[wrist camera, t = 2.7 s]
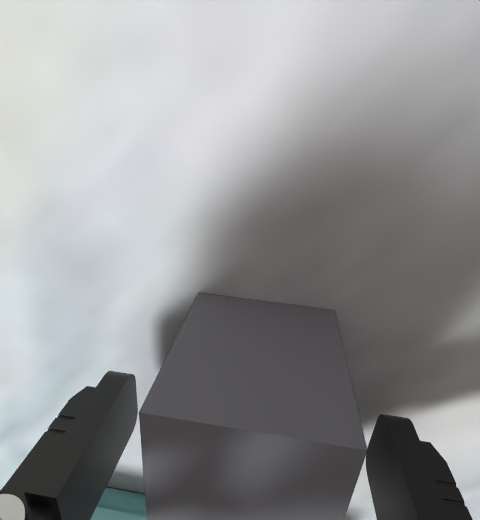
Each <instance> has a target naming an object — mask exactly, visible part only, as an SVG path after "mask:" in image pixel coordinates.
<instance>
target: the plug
mask: <svg viewBox="0 0 480 520" xmlns="http://www.w3.org/2000/svg"><path fill="white" fill-rule="evenodd" d="M139 418H140V433H141V447H142V461H143V476H144V490H145V504H146V519H147V520H344V518H345V515H346V512H347V509H348V506H349V503H350V500H351V497H352V494H353V491H354V488H355V485H356V483H357V480H358V477H359V474H360V471H361V468H362V465H363V462H364V459H365V456H366V453H367V446H366V442H365V438H364V434H363V429H362V425H361V421H360V417H359V412H358V408H357V404H356V400H355V395H354V391H353V387H352V383H351V378H350V374H349V370H348V366H347V361H346V357H345V353H344V348H343V344H342V340H341V336H340V331H339V327H338V323H337V319H336V314H335V310H327V309H320V308H312V307H304V306H297V305H289V304H282V303H274V302H266V301H259V300H251V299H244V298H236V297H228V296H221V295H213V294H206V293H198V295H197V297H196V299H195V301H194V303H193V305H192V307H191V309H190V311H189V313H188V315H187V317H186V319H185V321H184V323H183V325H182V327H181V329H180V331H179V333H178V335H177V337H176V339H175V341H174V343H173V345H172V347H171V349H170V351H169V353H168V355H167V357H166V359H165V361H164V363H163V365H162V367H161V369H160V371H159V373H158V375H157V377H156V379H155V381H154V383H153V385H152V387H151V389H150V391H149V393H148V395H147V397H146V399H145V401H144V403H143V405H142V407H141V409H140V411H139Z"/></svg>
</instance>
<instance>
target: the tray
mask: <svg viewBox="0 0 480 520" xmlns="http://www.w3.org/2000/svg"><path fill="white" fill-rule="evenodd" d="M90 520H147V519H146V504H145V494H139V493H134V492H129V491H123V490H118V489H113V488H108V487H106V488H105V490H104V492H103V494H102V496H101V498H100V501H99V503H98V505H97V507H96V509H95V511H94V513H93V515H92V517H91V519H90Z"/></svg>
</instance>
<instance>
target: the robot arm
mask: <svg viewBox="0 0 480 520" xmlns="http://www.w3.org/2000/svg"><path fill="white" fill-rule="evenodd" d="M137 413H138V408H137V394H136V380H135V376H134V375H133V374H127V373H120V372H114V371H108V372H107V373H106V374H105V375H104V377H103V378H102V380H101V381H100V383H99V384H98V385H97V387H96V388H95V387H89V386H87V387H85V388H84V389H83V390H81V391H80V392H79V393H77V394H76V395H75V396H73V397H72V398H71V399H70V400H69V401H68V402H67V404H66V405H65V406H64V408H63V409H62V410H61V412H60V413H59V414H58V417H57V418H55V420H54V421H53V422H52V424H51V425H50V426H49V428H48V431H47V432H45V433H44V434H43V436H42V437H41V438H40V440H39V441H38V442H37V444H36V445H35V446H34V448H33V449H32V450H31V451H30V453H29V454H28V455H27V457H26V458H25V459H24V461H23V462H22V463H21V465H20V466H19V467H18V469H17V470H16V471H15V473H14V474H13V475H12V477H11V478H10V479H9V481H8V482H7V483H6V485H5V486H4V487H3V488H2V489H1V490H0V520H90V519H91V517H92V515H93V513H94V511H95V509H96V507H97V505H98V503H99V501H100V498H101V496H102V494H103V492H104V490H105V488H106V486H107V484H108V482H109V480H110V478H111V476H112V474H113V472H114V469H115V467H116V465H117V463H118V461H119V459H120V457H121V455H122V453H123V451H124V449H125V447H126V445H127V443H128V440H129V438H130V436H131V434H132V432H133V430H134V427H135V424H136V419H137ZM366 470H367V476H368V480H369V485H370V490H371V494H372V499H373V503H374V508H375V512H376V517H377V520H472V518H471V515H470V513H469V511H468V509H467V507H465V505H464V500H463V498H462V495H461V493H460V491H459V489H458V488H457V487H456V482H455V480H454V478H453V476H452V473H451V471H450V469H449V467H448V465H447V462H446V461H445V460H444V459H443V457H442V456H441V455H440V454H439V453H438V451H437V450H436V449H435V448H434V447H433V445H432V444H431V443H430V442H424V441H420V440H419V438H418V435H417V433H416V430H415V428H414V425H413V423H412V422H411V420H410V419H408V418H403V417H396V416H390V415H384V414H380V415H379V417H378V419H377V422H376V425H375V428H374V430H373V433H372V436H371V439H370V442H369V445H368V448H367V453H366Z"/></svg>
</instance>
